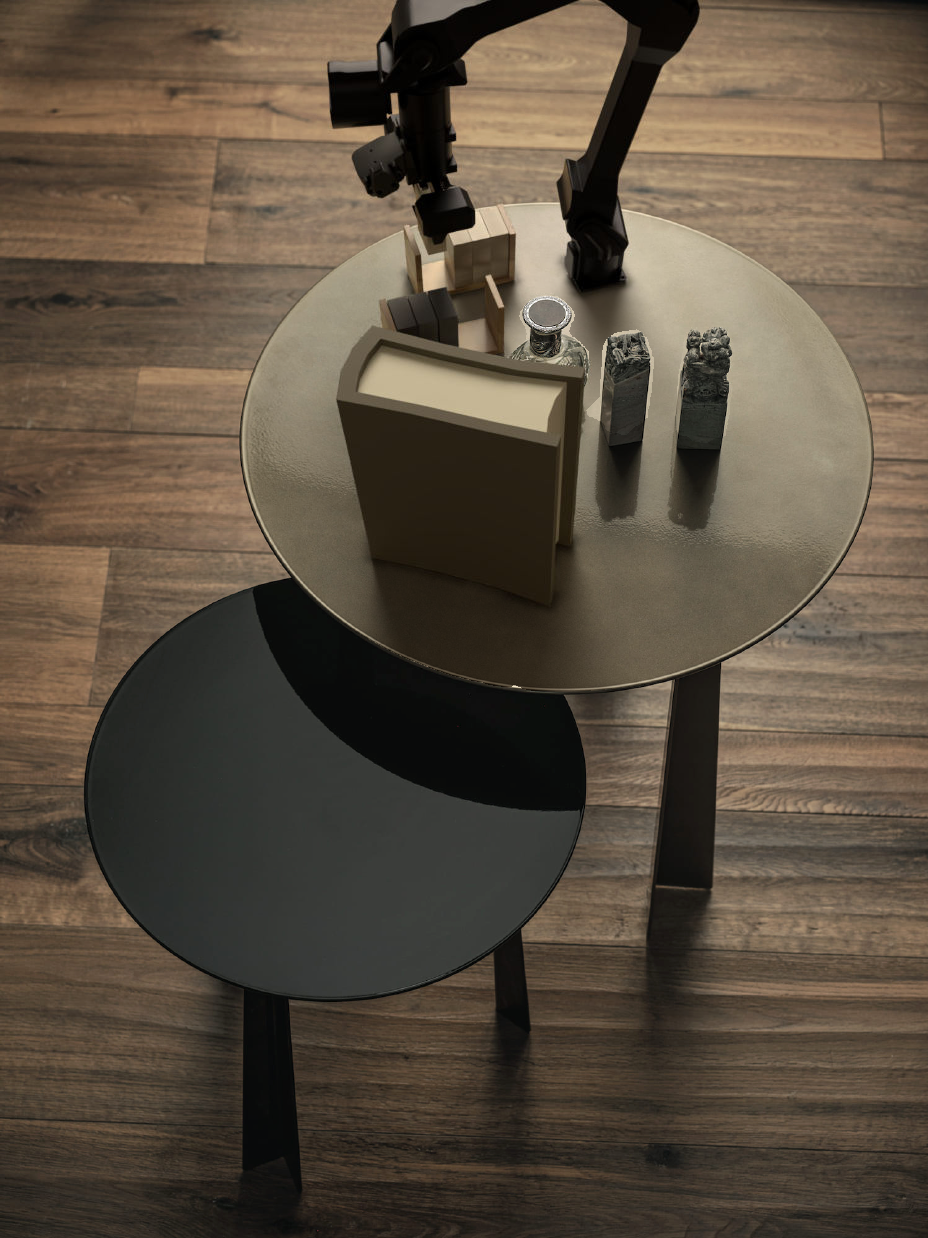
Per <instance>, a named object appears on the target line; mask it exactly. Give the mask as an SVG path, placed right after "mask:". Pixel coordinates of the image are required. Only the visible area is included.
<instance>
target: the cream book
mask: <svg viewBox="0 0 928 1238" xmlns="http://www.w3.org/2000/svg"><path fill="white" fill-rule="evenodd" d="M427 184H428V183H427ZM428 186H429V185H428ZM427 193H431V190H430V188H429V189H427V190H423V191H422V190H420V188H419V186H418V184H415V192H414V195H415V197H414V198H415V202H416V201H417V200H418V199H419V197H420V196H421V195H422V194H427ZM416 223H417V230H418V232H419V235H420V238H421V240H422V242H423V246H424V248H425V251H426V253H427V255H428V256H431V255H432V256H433V255H437V254H441V253H444V252H445V251H447V244H446V238H445V239H444V241H443V243H442V244H438V245H434V244H433V241H432V238H429V237H426V236H423V233H422V231H421V228H420V226H419V223H418V220H417V219H416Z"/></svg>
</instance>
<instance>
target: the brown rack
mask: <svg viewBox="0 0 928 1238" xmlns="http://www.w3.org/2000/svg"><path fill="white" fill-rule="evenodd" d="M475 217H476V224H475V225H474V226H473V228H470V229H466V230H461V231H457V232H453V233H448V234H447V236H446V244H447V251H445V252H443V259H442V260H439V261H438V260H437V261H432V262H428V263H424V264H423V263H422V254H421V250H420V248H419V245H418V242H417V240H416V238H415V235H414V233H413V230H412V227H411V225H410V224H409V223H408V224H404V225H403V228H402V229H403V237H404V251H405V263H406V273H407V276H408V278H409V281H410V284H411V286H412V289H413V292H414V294H417V293H421V292H425V291H426V292H427V291H430V290H434V289H438V288H443V287H447V290H448V292H449V295H450V296H454V295H457V294H462V293H466V292H470V291H471V292H472V291H475V290H479V289H483V288H484V289H485V276H487V275H491V276H492V278H493V280H494V283H495V285H496V286H497V285H501V284H505V283H508V282H513V281H515V280H516V279H515V278H516V251H517V250H516V249H517V248H516V247H517V244H516V243H517V232H516V230H515V228H514V225H513V224H512V221H511V219H510V217H509V214H508V212H507V210H506V208H505V205H504V203H499V204H496V206H493V207H489V208H483V209H479V210H475ZM427 294H428V293H427Z"/></svg>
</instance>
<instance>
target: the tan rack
mask: <svg viewBox="0 0 928 1238" xmlns="http://www.w3.org/2000/svg"><path fill="white" fill-rule="evenodd" d="M427 293H428V294H427ZM378 304H379V312H380V322H381V328H384V329H388V330H392V331H396V332H400V333H404V334H408V335H411V336H415V337H419V338H423V339H427V340H431V341H434V342H438V343H442V344H447V345H451V346H456V347H460V348H465V349H469V350H474V351H479V352H483V353H488V354H492V355H498V354H502V353H504V352H505V319H506V318H505V317H506V316H505V314H506V313H505V312H506V311H505V310H506V307H505V304H504V301H503V299H502V297H501V295H500V293H499V291H498V288H497V285H495V283H494V280H493V278H492V276H491V275H487V276H485V287H484V317H482V318H478V319H474V320H469V321H464V322H460V323H459V315H458V313H457V310H456V308H455V307H456V306H455V305H454V302H453V300H452V297H451V295H449V292H448V290H447V287H443V288H438V289H434V290H430V291H427V292H426V291H425V292H421V293H417V294H415V293H412V294H409V295H403V296H400V297H394V298H390V299H386V298H382V299H379V300H378Z"/></svg>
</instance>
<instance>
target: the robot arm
mask: <svg viewBox="0 0 928 1238" xmlns="http://www.w3.org/2000/svg"><path fill="white" fill-rule="evenodd" d="M579 1H580V0H395V4H394V6H393V8H392V10H391V14H390V15H391V16H390V23H389V24H388V26H387V27H386V29H385V30H384V32H383V33H382V35H381V36H380V38H379V39H378V40H377V42H376V44H375V45H376V59H366V60H353V61H346V60H345V61H344V60H330V61H327V63H326V73H327V81H328V101H329V102H328V103H329V104H328V105H329V106H328V107H329V116H330V122H331V128H332V130H340V129H352V128H353V129H354V128H366V127H379V126H381V127H382V126H383V133H384V134H383V135H379V136H378V137H377V138H375V139H373V140H371V141H369V142H367V143H365V144H364V145H362V146H360V147H359V148H357V149H355V150H354V151H353V152H352V153H351V161H352V163H353V167H354V169H355V172H356V176H357V177H358V178H359V180H360V182H361V184H362V185H363V187H364V189H365V192H366V194H367V195H369V196H370V197H374V198H375V197H376V198H377V199H384V198H386V197H388V196H390V195H392V194H394V193H395V192H397V191H398V190H399V189H400V187H401V184H400V183H401V182H402V181H403V180H404V179H405V182H406V184H407V186H412V189H413V192H414V193H415V184H418V186H419V188H420V190H422V191H423V190H427V189H429V188H430V190H431V193H427V194H422V195H421V196H420V197H419V199H418V200H417V201H416V200H415V202H414V204H412V205H411V208H412V211H413V213H414V216H415V218H416V221H417V220H418V223H419V226H420V228H421V231H422V233H423V236H426V237H429V238H432V241H433V244H434V245H438V244H442V243H443V241H444V239H445V238H446V236H447V234H448V233H453V232H457V231H461V230H466V229H470V228H473V226H474V225H475V224H476V217H475V211H476V209H475V207H474V204H473V201H472V199H471V197H470V195H469V192H468V191H467V190H465V189H464V188H463V187H462V186H458V185H455V184H451V182H450V179H449V177H448V175H449V174H454V173H458V163H457V161H456V158H455V155H454V154H453V142H457V131H456V129H455V127H454V125H453V123H452V113H451V112H452V111H451V87H464V86H466V85H468V74H467V68H466V62H465V60H464V59H462V58H463V56H465V55H466V54H467V53H468V52H469V51H470V50H471V49H472V48H473V46H475V44H476V43H478V42H480V41H481V40H483V39H485V38H487V37H489V36H491V35H494V34H497V33H499V32H501V31H504V30H507V29H509V28H512V27H514V26H517V25H520V24H522V23H525V22H528V21H531V20H532V19H535V18H538V17H541V16H543V15H545V14H548V13H551V12H554V11H556V10H559V9H562V8H563V7H567V6H569V5H572V4H574V3H577V2H579ZM598 1H599V2H601V3H603V4H605V5H606V6H607V7H609V9H611V10H612V11H613V12H615V13H616V14H617V15H618V16H620V17H621V18H622V19H624V20H625V21H627V23H626V38H625V43H624V46H623V49H622V52H621V55H620V58H619V60H618V63H617V65H616V68H615V71H614V74H613V76H612V80H611V83H610V85H609V88H608V91H607V93H606V96H605V99H604V102H603V105H602V107H601V110H600V113H599V116H598V118H597V121H596V123H595V127H594V129H593V132H592V135H591V138H590V141H589V143H588V145H587V148H586V151H585V153H584V154H583V155H581V156H580V157H579V158H578V159H577V160H575V159H571V158H565V160H564V163H563V170H562V173H561V175H560V177H559V178H558V179H557V180H556V181H555V185H556V190H557V195H558V201H559V206H560V212H561V218H562V221H564V225H565V230H566V234H568V235H569V237H570V241H567V243H566V251H565V256H564V258H563V259H564V262H565V268H566V270H567V273H568V276H569V277H570V279H571V280H573V281H574V284H575V286H576V288H577V290H578V291H579V292H580V293H584V292H589V291H594V290H597V289H602V288H607V287H610V286H615V285H618V284H623V283H626V281H627V275H626V273H625V270H624V269H623V265H624V257H625V252H626V250H627V248H628V246H629V244H630V242H629V238H628V237H629V236H628V233H627V229H626V223H625V220H624V214H623V211H622V210H623V209H622V206H621V200H620V196H619V194H618V193H619V179H620V178H619V177H620V174H621V171H622V169H623V166H624V164H625V161H626V158H627V156H628V154H629V151H630V148H631V146H632V144H633V141H634V140H635V139H634V138H635V136H636V133H637V132H638V129H639V126H640V124H641V121H642V119H643V116H644V113H645V112H646V108H647V107H648V104H649V101H650V99H651V96H652V94H653V91H654V89H655V87H656V84H657V81H658V79H659V76H660V74H661V71H662V69H663V67H664V66H665V64H667V63H668V62H669V61H670V60H671V59H673V58H674V57H675V56H676V55H677V54H679V53H680V52H681V51H682V49H683V47H684V46H685V44H686V43H687V41H688V39H689V37H690V36H691V34H692V33H693V31H694V30H695V27H696V26H697V24H698V22H699V18H700V14H701V6H700V2H699V0H598ZM392 94H397V96H396V97H397V106H398V107H397V108H398V113H394V114H393V103H392ZM427 183H428V184H427ZM428 185H429V186H428Z"/></svg>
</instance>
